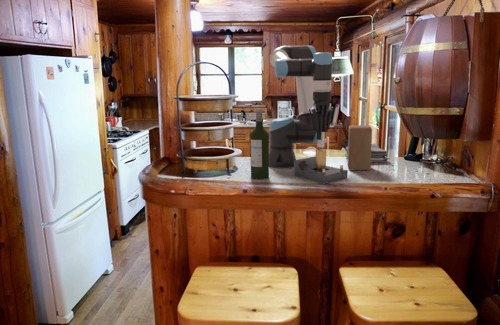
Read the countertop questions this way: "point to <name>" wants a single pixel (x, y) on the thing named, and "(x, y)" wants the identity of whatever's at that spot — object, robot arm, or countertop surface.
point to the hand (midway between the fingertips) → (320, 146)
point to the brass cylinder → (320, 159)
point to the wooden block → (359, 147)
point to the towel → (375, 154)
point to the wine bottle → (259, 149)
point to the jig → (307, 171)
